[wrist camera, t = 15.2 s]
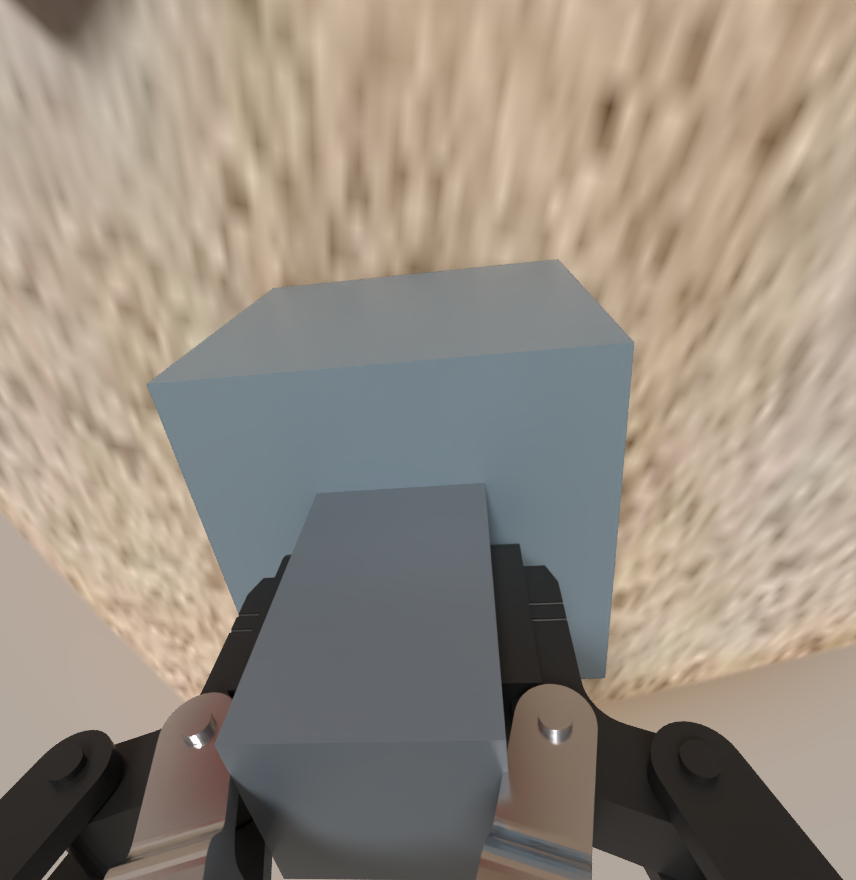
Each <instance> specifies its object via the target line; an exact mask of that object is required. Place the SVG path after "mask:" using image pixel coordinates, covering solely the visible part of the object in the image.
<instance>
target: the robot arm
mask: <svg viewBox="0 0 856 880" xmlns="http://www.w3.org/2000/svg"><path fill="white" fill-rule="evenodd" d="M490 551H491V564H492V576H493V588H494V600H495V612H496V624H497V636H498V648H499V661H500V673H501V685H502V697H503V709H504V721H505V733H506V747H507V764H508V772H503V776H502V781H501V786H500V791H499V797H498V802H497V807H496V812H495V817H494V822H493V826H492V830H491V832H490V834H488V835H487V837H486V840H485V843H484V846H483V850H482V854H481V858H480V863H479V867H478V873H477V878H476V880H592V847H594V848H597V849H599V850H602V851H605V852H608V853H610V854H613V855H615V856H618V857H620V858H623V859H625V860H628V861H630V862H633V863H636V864H638V865H640V866H643V867H644V869H645V870H646V872H647V874H648V876H649V878H650V880H843V879H842V878H841V877H840V876H839V874H838V873H837V872H836V870H835V869H834V868H833V867H832V866H831V864H830V863H829V862H828V861H827V859H826V858H825V857H824V856H823V855H822V853H821V852H820V851H819V850H818V848H817V847H816V846H815V845H814V844H813V842H812V841H811V840H810V839H809V837H808V836H807V835H806V834H805V832H804V831H803V830H802V829H801V828H800V826H799V825H798V824H797V823H796V821H795V820H794V819H793V818H792V817H791V815H790V814H789V813H788V812H787V810H786V809H785V808H784V807H783V806H782V804H781V803H780V802H779V801H778V799H777V798H776V797H775V796H774V794H773V793H772V792H771V791H770V790H769V788H768V787H767V786H766V785H765V783H764V782H763V781H762V780H761V779H760V777H759V776H758V775H757V774H756V772H755V771H754V770H753V769H752V767H751V766H750V765H749V764H748V763H747V761H746V760H745V759H744V758H743V756H742V755H741V754H740V753H739V751H738V750H737V749H736V748H735V747H734V746H733V745H732V744H731V743H730V742H729V741H728V740H727V739H726V738H724V737H723V736H722V735H720V734H719V733H718V732H716V731H714V730H712V729H710V728H708V727H706V726H703V725H701V724H697V723H693V722H685V721H682V722H674V723H670V724H668V725H666V726H663V727H662V728H661V729H660V730H659V731H658V732H657V733H654V732H650V731H647V730H643V729H640V728H636V727H633V726H630V725H626V724H624V723H621V722H618V721H616V720H614V719H612V718H610V717H609V716H607V715H606V714H604V713H603V712H602V711H601V710H599V709H598V708H597V707H596V706H595V705H594V704H593V702H592V701H591V700H590V699H589V697H588V696H587V694H586V692H585V690H584V688H583V685H582V681H581V677H580V673H579V669H578V664H577V660H576V656H575V651H574V647H573V643H572V639H571V634H570V630H569V626H568V621H567V617H566V613H565V609H564V605H563V600H562V596H561V591H560V587H559V583H558V581H557V580H556V578H555V577H554V576H553V575H552V573H551V572H550V571H549V570H548V568H547V567H546V566H545V565H539V566H523V561H522V555H521V548H520V544H519V543H516V544H497V545H490ZM291 555H292V554H291ZM291 555H285V556H284V558H283V559H282V561H281V564H280V566H279V568H278V571H277V573H276V575H275V577H272V578H263V579H262V580H261V581H260V582H259V583H258V584H257V585H256V586H255V587H254V588H253V589H252V591H251V592H250V593H249V594H248V595H247V597H246V599H245V601H244V603H243V605H242V607H241V610H240V612H239V617H237V618H236V620H235V622H234V624H233V627H232V629H231V630H232V631H231V633H229V635H228V637H227V639H226V641H225V644H224V646H223V648H222V650H221V652H220V654H219V656H218V658H217V661H216V663H215V665H214V667H213V669H212V671H211V673H210V675H209V678H208V680H207V682H206V684H205V686H204V688H203V690H202V692H201V694H200V695H199V696H196V697H194V698H192V699H190V700H188V701H187V702H185V703H184V704H182V705H181V706H180V707H178V708H177V709H176V710H175V711H174V712H173V713H172V714H171V716H170V717H169V718H168V719H167V721H166V722H165V724H164V725H163V727H162V729H160V730H157V731H155V732H152V733H149V734H146V735H143V736H140V737H137V738H134V739H131V740H128V741H125V742H121V743H119V744H115V745H114V743H113V742H112V741H111V739H110V738H109V736H108V735H107V734H105V733H104V732H102V731H98V730H89V731H83V732H80V733H77V734H74V735H72V736H70V737H68V738H66V739H64V740H62V741H61V742H59V743H58V744H56V745H55V746H54V747H53V748H51V749H50V750H49V751H48V752H47V753H46V754H44V755H43V757H42V758H40V759H39V760H38V762H36V764H34V766H33V767H32V768H31V769H30V770H29V771H28V772H27V773H26V774H25V775H24V776H23V777H22V778H21V779H20V780H19V781H18V782H17V783H16V784H15V785H14V786H13V787H12V788H11V789H10V790H9V791H8V792H7V793H6V794H5V795H4V796H3V797H2V798H1V799H0V880H41V879H42V878H43V877H44V876H45V875H46V873H47V872H48V871H49V870H50V868H51V867H52V866H53V865H54V864H55V862H56V861H57V860H58V859H59V857H60V856H61V855H62V854H63V853H64V851H65V850H66V851H67V852H68V855H67V856H66V857H65V858H64V859H63V861H62V862H61V863H60V864H59V866H58V867H57V868H56V869H55V871H54V872H53V873H52V874H51V875H50V877H49V878H48V879H47V880H271V868H272V854H271V852H270V850H269V848H268V846H267V844H266V842H265V841H264V839H263V837H262V835H261V834H260V832H259V830H258V828H257V826H256V824H255V822H254V820H253V818H252V816H251V814H250V813H249V811H248V809H247V807H246V805H245V803H244V801H243V799H242V797H241V795H240V793H239V791H238V789H237V787H236V785H235V783H234V781H233V779H232V777H231V775H230V774H229V772H228V770H227V769H226V767H225V765H224V763H223V761H222V759H221V757H220V755H219V753H218V751H217V749H216V747H215V746H214V744H215V741H216V739H217V736H218V734H219V731H220V729H221V726H222V724H223V722H224V719H225V717H226V714H227V712H228V709H229V707H230V704H231V702H232V699H233V697H234V695H235V692H236V690H237V687H238V685H239V682H240V680H241V677H242V675H243V673H244V670H245V668H246V665H247V663H248V660H249V658H250V655H251V653H252V650H253V648H254V646H255V643H256V641H257V638H258V636H259V633H260V631H261V628H262V626H263V624H264V621H265V619H266V616H267V614H268V611H269V609H270V606H271V604H272V601H273V599H274V597H275V594H276V592H277V589H278V587H279V584H280V582H281V579H282V577H283V575H284V572H285V570H286V567H287V565H288V562H289V560H290V557H291Z"/></svg>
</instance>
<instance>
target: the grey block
mask: <svg viewBox="0 0 856 880" xmlns="http://www.w3.org/2000/svg"><path fill="white" fill-rule="evenodd" d="M633 350H634V341H633V340H632V339H631V338H630V337H629V336H628V335H627V334H626V333H625V332H624V331H623V329H622V328H621V327H620V326H619V325H618V324H617V323H616V322H615V321H614V320H613V319H612V317H611V316H610V315H609V314H608V313H607V312H606V311H605V310H604V309H603V308H602V306H601V305H600V304H599V303H598V302H597V301H596V300H595V299H594V298H593V297H592V296H591V294H590V293H589V292H588V291H587V290H586V289H585V288H584V287H583V286H582V285H581V284H580V282H579V281H578V280H577V279H576V278H575V277H574V276H573V275H572V274H571V273H570V271H569V270H568V269H567V268H566V267H565V266H564V265H563V264H562V263H561V262H560V261H559V259H556V260H547V261H537V262H527V263H517V264H507V265H498V266H488V267H478V268H468V269H458V270H448V271H439V272H429V273H419V274H409V275H399V276H390V277H380V278H370V279H360V280H350V281H341V282H331V283H321V284H311V285H301V286H292V287H282V288H273V289H271V290H270V291H269V292H267V293H266V294H265V295H263V296H262V297H261V298H260V299H258V300H257V301H256V302H254V303H253V304H252V305H250V306H249V307H248V308H246V309H245V310H244V311H242V312H241V313H240V314H238V315H237V316H236V317H234V318H233V319H232V320H230V321H229V322H228V323H226V324H225V325H224V326H223V327H221V328H220V329H219V330H217V331H216V332H215V333H213V334H212V335H211V336H209V337H208V338H207V339H205V340H204V341H203V342H201V343H200V344H199V345H197V346H196V347H195V348H193V349H192V350H191V351H189V352H188V353H187V354H186V355H184V356H183V357H182V358H180V359H179V360H178V361H176V362H175V363H174V364H172V365H171V366H170V367H168V368H167V369H166V370H164V371H163V372H162V373H160V374H159V375H158V376H156V377H155V378H154V379H152V380H151V381H150V382H149V383H147V387H148V389H149V392H150V394H151V397H152V399H153V402H154V404H155V407H156V409H157V412H158V414H159V417H160V419H161V422H162V424H163V426H164V429H165V431H166V434H167V436H168V439H169V441H170V444H171V446H172V449H173V451H174V454H175V456H176V459H177V461H178V464H179V466H180V469H181V471H182V474H183V476H184V479H185V481H186V484H187V486H188V489H189V491H190V494H191V496H192V499H193V501H194V504H195V506H196V509H197V511H198V514H199V516H200V519H201V521H202V524H203V526H204V529H205V531H206V534H207V536H208V539H209V541H210V544H211V546H212V549H213V551H214V554H215V556H216V559H217V561H218V564H219V566H220V569H221V571H222V574H223V576H224V579H225V581H226V584H227V586H228V589H229V591H230V594H231V596H232V599H233V601H234V604H235V606H236V609H237V611H238V614H239V612H240V610H241V607H242V605H243V603H244V601H245V599H246V597H247V595H248V594H249V593H250V592H251V591H252V589H253V588H254V587H255V586H256V585H257V584H258V583H259V582H260V581H261V580H262V579H263V578H272V577H275V575H276V573H277V571H278V568H279V566H280V564H281V561H282V559H283V558H284V556H285V555H291V554H292V555H291V557H290V560H289V562H288V565H287V567H286V570H285V572H284V575H283V577H282V579H281V582H280V584H279V587H278V589H277V592H276V594H275V597H274V599H273V601H272V604H271V606H270V609H269V611H268V614H267V616H266V619H265V621H264V624H263V626H262V628H261V631H260V633H259V636H258V638H257V641H256V643H255V646H254V648H253V650H252V653H251V655H250V658H249V660H248V663H247V665H246V668H245V670H244V673H243V675H242V677H241V680H240V682H239V685H238V687H237V690H236V692H235V695H234V697H233V699H232V702H231V704H230V707H229V709H228V712H227V714H226V717H225V719H224V722H223V724H222V726H221V729H220V731H219V734H218V736H217V739H216V741H215V744H214V746H215V747H216V749H217V751H218V753H219V755H220V757H221V759H222V761H223V763H224V765H225V767H226V769H227V770H228V772H229V774H230V775H231V777H232V779H233V781H234V783H235V785H236V787H237V789H238V791H239V793H240V795H241V797H242V799H243V801H244V803H245V805H246V807H247V809H248V811H249V813H250V814H251V816H252V818H253V820H254V822H255V824H256V826H257V828H258V830H259V832H260V834H261V835H262V837H263V839H264V841H265V842H266V844H267V846H268V848H269V850H270V852H271V854H272V856H273V858H274V860H275V862H276V864H277V866H278V868H279V870H280V872H281V874H282V875H283V878H284V879H361V880H362V879H363V880H367V879H368V880H476V878H477V873H478V867H479V863H480V858H481V854H482V850H483V846H484V843H485V840H486V837H487V835H488V834H490V832H491V830H492V826H493V822H494V817H495V812H496V807H497V802H498V797H499V791H500V786H501V781H502V776H503V772H508V764H507V747H506V733H505V721H504V709H503V697H502V685H501V673H500V661H499V648H498V636H497V624H496V612H495V600H494V588H493V576H492V564H491V551H490V545H497V544H516V543H519V544H520V548H521V555H522V561H523V566H539V565H545V566H546V567H547V568H548V570H549V571H550V572H551V573H552V575H553V576H554V577H555V578H556V580H557V581H558V583H559V587H560V591H561V596H562V600H563V605H564V609H565V613H566V617H567V621H568V626H569V630H570V634H571V639H572V643H573V647H574V651H575V656H576V660H577V664H578V669H579V673H580V677H581V679H593V678H605V672H606V661H607V649H608V638H609V626H610V615H611V603H612V592H613V580H614V569H615V557H616V546H617V534H618V523H619V511H620V500H621V488H622V477H623V465H624V454H625V442H626V431H627V419H628V408H629V396H630V385H631V373H632V362H633Z"/></svg>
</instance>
